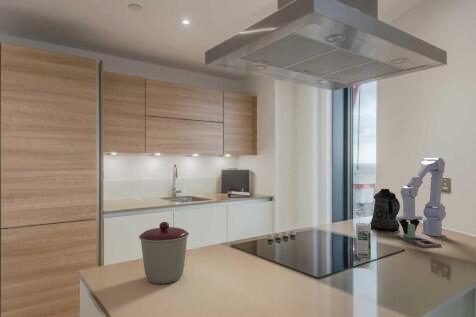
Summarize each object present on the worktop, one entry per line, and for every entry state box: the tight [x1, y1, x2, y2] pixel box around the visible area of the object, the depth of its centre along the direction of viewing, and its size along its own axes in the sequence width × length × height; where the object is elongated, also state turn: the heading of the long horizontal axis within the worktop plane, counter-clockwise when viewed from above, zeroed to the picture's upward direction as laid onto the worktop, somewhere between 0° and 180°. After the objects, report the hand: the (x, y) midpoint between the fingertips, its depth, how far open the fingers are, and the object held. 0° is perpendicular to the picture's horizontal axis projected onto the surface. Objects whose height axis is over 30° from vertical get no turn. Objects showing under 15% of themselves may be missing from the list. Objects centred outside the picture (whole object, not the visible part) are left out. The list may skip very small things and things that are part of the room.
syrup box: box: [355, 222, 372, 258], centre depth 144 cm, size 6×6×14 cm
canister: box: [138, 221, 190, 285], centre depth 118 cm, size 18×18×21 cm
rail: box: [395, 234, 442, 249], centre depth 167 cm, size 21×10×1 cm, turn 7°
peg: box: [403, 222, 416, 238], centre depth 173 cm, size 4×4×8 cm
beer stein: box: [369, 188, 401, 233], centre depth 195 cm, size 16×19×25 cm
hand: (409, 233), depth 173 cm, fingers closed on peg, 4 cm apart
